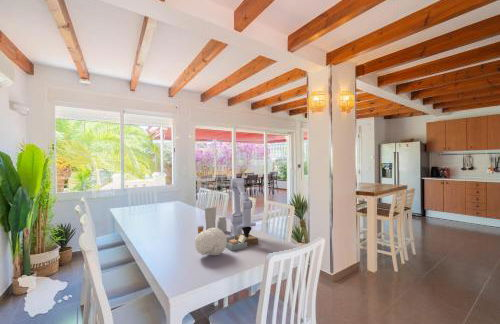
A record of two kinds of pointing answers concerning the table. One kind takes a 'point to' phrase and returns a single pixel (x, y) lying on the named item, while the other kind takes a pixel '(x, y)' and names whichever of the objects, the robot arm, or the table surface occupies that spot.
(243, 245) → the tray
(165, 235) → the table surface
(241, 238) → the tile
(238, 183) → the robot arm
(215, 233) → the cauliflower
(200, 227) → the toiletry set
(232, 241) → the tile
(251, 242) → the board
